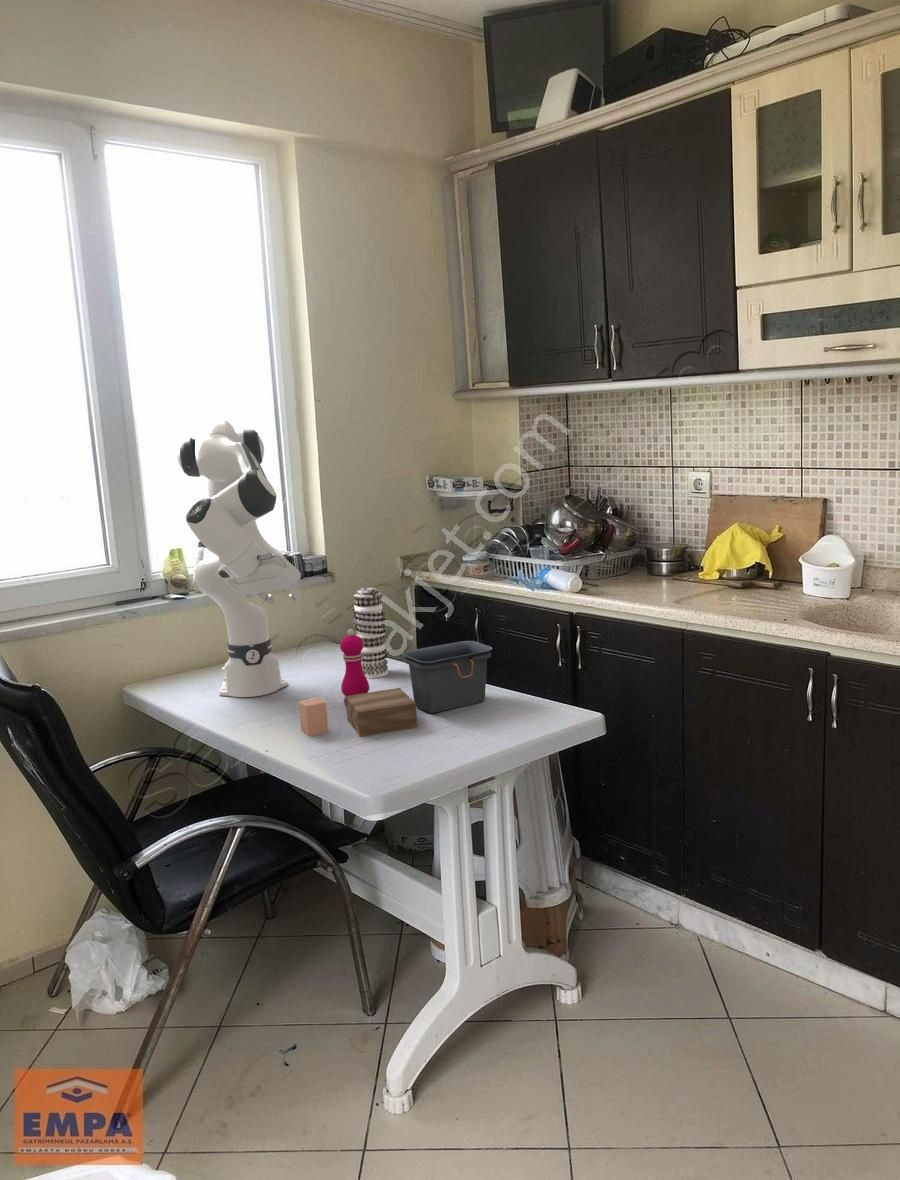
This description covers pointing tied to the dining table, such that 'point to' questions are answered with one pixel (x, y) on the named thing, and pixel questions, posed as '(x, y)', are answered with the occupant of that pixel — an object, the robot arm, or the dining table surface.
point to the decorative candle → (370, 631)
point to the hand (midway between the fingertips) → (284, 600)
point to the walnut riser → (381, 712)
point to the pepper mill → (353, 666)
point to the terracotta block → (313, 716)
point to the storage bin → (448, 675)
